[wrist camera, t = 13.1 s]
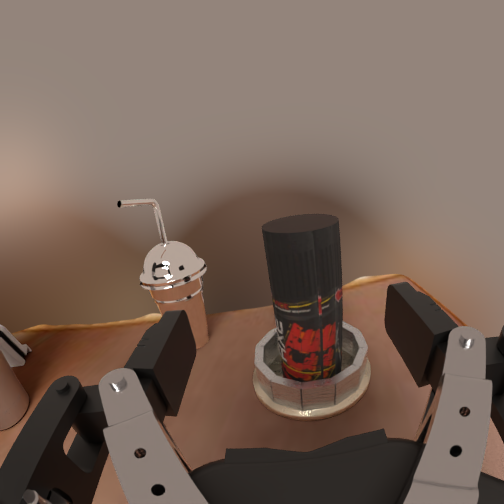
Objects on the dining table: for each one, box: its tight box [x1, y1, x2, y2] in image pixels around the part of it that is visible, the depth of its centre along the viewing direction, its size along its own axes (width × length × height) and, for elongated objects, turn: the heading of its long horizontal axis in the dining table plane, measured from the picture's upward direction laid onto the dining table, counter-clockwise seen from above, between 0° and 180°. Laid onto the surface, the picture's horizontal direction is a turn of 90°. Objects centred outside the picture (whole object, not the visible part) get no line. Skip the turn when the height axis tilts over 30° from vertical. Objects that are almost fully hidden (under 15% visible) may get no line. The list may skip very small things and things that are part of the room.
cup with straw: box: [117, 199, 209, 349], centre depth 32 cm, size 8×9×20 cm
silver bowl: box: [253, 321, 371, 421], centre depth 25 cm, size 12×12×4 cm
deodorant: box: [262, 214, 343, 382], centre depth 23 cm, size 6×6×15 cm
